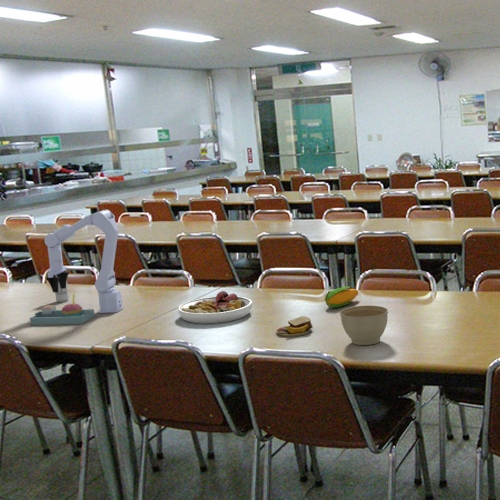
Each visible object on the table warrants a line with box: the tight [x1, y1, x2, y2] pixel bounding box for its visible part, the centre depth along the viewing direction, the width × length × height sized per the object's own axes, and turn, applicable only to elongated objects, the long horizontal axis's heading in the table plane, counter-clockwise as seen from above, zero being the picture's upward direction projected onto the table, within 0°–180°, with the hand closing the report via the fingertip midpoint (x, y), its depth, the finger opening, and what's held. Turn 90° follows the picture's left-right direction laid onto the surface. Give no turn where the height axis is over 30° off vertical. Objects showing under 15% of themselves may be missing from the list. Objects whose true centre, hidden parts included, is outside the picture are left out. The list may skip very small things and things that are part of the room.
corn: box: [324, 286, 359, 309], centre depth 320 cm, size 7×8×20 cm
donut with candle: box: [61, 293, 83, 317], centre depth 329 cm, size 9×8×12 cm
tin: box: [41, 304, 57, 317], centre depth 331 cm, size 4×4×6 cm
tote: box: [29, 308, 95, 326], centre depth 330 cm, size 23×13×4 cm, turn 78°
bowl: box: [177, 290, 253, 325], centre depth 318 cm, size 30×30×8 cm
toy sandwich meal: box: [275, 315, 313, 338], centre depth 284 cm, size 12×14×5 cm
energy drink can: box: [54, 275, 70, 303], centre depth 369 cm, size 6×6×15 cm
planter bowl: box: [339, 305, 389, 346], centre depth 265 cm, size 16×16×11 cm
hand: (59, 290), depth 345 cm, fingers open, 7 cm apart
